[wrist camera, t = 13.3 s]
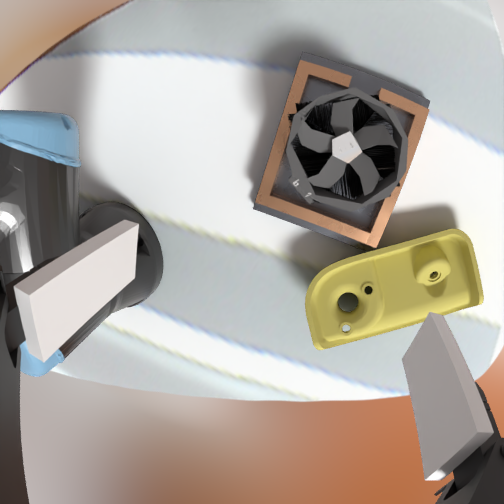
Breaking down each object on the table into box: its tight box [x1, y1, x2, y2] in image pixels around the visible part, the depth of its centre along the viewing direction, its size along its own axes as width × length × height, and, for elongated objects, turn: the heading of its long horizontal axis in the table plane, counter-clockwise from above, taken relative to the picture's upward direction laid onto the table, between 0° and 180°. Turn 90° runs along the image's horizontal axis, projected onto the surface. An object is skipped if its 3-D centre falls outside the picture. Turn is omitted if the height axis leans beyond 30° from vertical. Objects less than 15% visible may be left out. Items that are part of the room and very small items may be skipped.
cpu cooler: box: [286, 87, 408, 212], centre depth 26 cm, size 10×6×10 cm
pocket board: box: [253, 52, 430, 252], centre depth 30 cm, size 14×18×3 cm
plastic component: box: [305, 229, 484, 350], centre depth 34 cm, size 20×7×10 cm
